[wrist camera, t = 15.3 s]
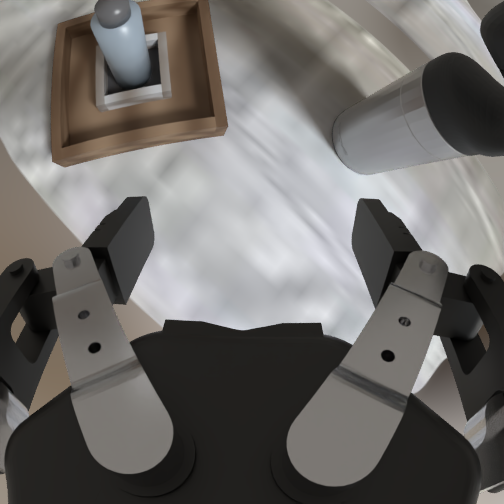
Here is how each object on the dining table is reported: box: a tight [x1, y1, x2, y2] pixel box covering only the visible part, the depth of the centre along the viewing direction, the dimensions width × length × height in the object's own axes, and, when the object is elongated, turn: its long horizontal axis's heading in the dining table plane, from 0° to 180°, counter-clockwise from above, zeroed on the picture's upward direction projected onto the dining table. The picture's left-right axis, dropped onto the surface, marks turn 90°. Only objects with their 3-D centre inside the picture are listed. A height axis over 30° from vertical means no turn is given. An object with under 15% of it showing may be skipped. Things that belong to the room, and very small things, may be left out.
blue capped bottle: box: [90, 0, 152, 90], centre depth 23 cm, size 4×4×14 cm
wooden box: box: [51, 0, 228, 167], centre depth 29 cm, size 19×19×4 cm
